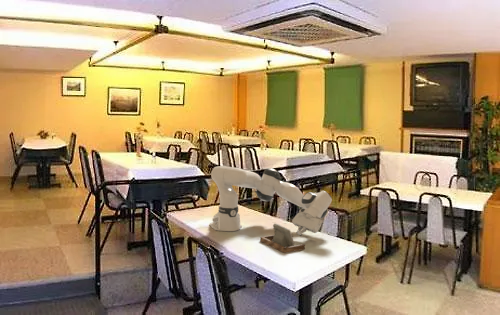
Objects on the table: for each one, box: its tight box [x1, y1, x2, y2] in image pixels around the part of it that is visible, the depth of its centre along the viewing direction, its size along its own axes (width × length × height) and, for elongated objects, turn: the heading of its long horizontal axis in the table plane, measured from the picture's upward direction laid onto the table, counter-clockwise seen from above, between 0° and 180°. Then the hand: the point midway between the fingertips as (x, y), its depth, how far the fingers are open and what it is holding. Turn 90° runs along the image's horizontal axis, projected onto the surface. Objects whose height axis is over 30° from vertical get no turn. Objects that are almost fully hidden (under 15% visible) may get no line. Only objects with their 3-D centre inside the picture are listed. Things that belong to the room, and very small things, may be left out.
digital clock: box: [272, 223, 295, 247], centre depth 251 cm, size 16×9×11 cm, turn 16°
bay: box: [259, 234, 306, 254], centre depth 250 cm, size 24×13×2 cm, turn 31°
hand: (298, 234), depth 256 cm, fingers closed
